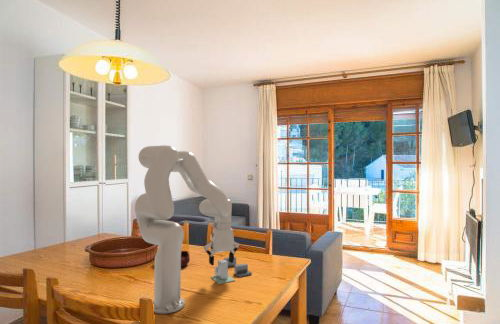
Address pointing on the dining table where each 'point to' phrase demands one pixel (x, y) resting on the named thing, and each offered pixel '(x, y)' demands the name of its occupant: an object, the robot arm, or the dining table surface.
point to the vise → (239, 268)
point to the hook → (222, 270)
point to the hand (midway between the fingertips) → (221, 263)
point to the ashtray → (184, 258)
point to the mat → (222, 280)
